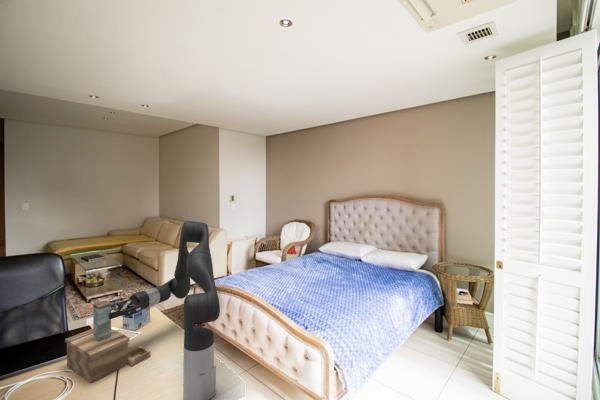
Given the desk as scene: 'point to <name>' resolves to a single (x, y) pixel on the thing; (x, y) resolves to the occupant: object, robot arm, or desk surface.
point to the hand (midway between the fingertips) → (103, 313)
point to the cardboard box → (101, 354)
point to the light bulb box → (136, 320)
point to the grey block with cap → (101, 320)
